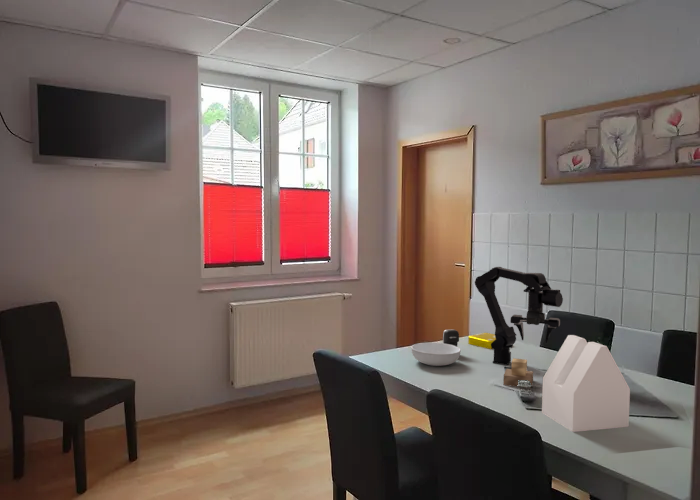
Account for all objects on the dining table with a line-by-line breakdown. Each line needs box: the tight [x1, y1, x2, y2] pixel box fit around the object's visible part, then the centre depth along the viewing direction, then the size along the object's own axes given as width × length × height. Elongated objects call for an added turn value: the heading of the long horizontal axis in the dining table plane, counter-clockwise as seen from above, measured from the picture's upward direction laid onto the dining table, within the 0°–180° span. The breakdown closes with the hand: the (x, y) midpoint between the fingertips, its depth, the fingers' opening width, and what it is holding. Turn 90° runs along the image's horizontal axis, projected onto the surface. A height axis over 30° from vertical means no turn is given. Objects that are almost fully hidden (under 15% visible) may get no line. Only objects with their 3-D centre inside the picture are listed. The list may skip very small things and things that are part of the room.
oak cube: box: [511, 357, 528, 376], centre depth 199 cm, size 5×5×5 cm
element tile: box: [467, 332, 496, 350], centre depth 260 cm, size 15×15×5 cm
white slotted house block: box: [541, 334, 631, 433], centre depth 162 cm, size 19×15×25 cm
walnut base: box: [502, 368, 534, 387], centre depth 199 cm, size 10×10×4 cm
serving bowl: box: [411, 342, 461, 367], centre depth 225 cm, size 21×21×7 cm
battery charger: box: [442, 329, 460, 347], centre depth 239 cm, size 7×4×11 cm, turn 105°
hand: (534, 341), depth 215 cm, fingers open, 9 cm apart
